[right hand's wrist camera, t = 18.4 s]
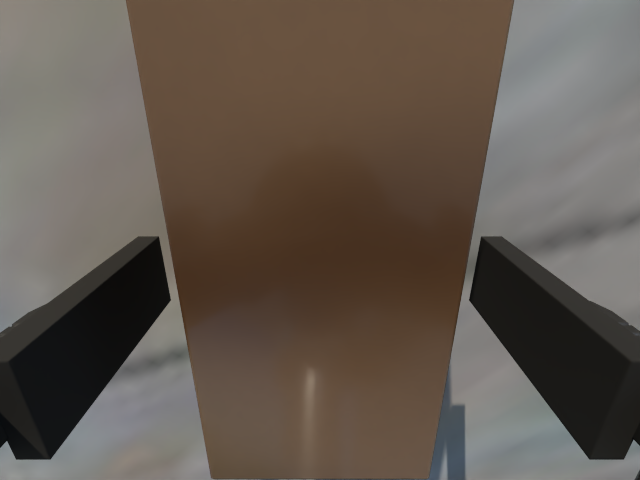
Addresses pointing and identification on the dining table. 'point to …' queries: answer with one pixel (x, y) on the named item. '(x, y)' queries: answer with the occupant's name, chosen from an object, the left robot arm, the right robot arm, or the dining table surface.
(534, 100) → the dining table surface
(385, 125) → the bar
